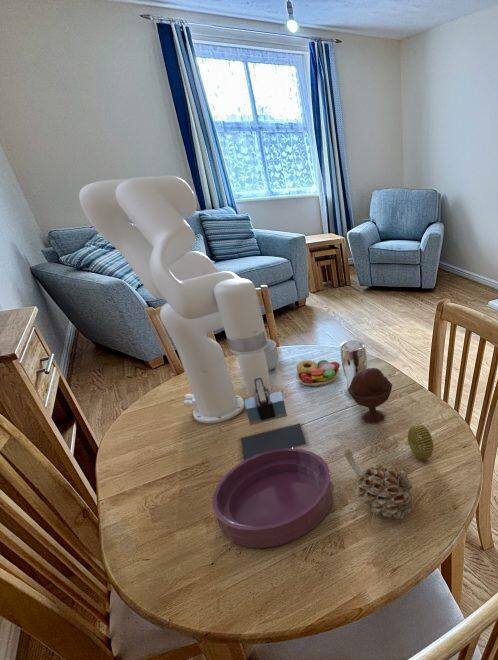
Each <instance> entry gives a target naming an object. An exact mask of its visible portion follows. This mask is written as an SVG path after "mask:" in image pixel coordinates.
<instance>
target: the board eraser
mask: <svg viewBox="0 0 498 660" xmlns="http://www.w3.org/2000/svg"><path fill="white" fill-rule="evenodd" d="M265 397H267V395H265ZM269 397H270V401H272V404H273V408H274V412H275V417H274V418H270V419H266V420H261V419H260V416H259V412H258V408H257V405H258V404H257V400H256V397H255V396H253V397H249V398H245V399H243V400H244V403H245V406H244V408H245V411H246V415H247V418H248V422H249V425H250V426H254V425H257V424H262V423H266V422H270V421H274V420H277V419H281V418H282V419H283V418H286V417H288V413H287V409H286V404H285V401H284V397H283V394H282V391H277V392H272V393H270V394H269ZM258 398H259V396H258Z"/></svg>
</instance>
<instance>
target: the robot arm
mask: <svg viewBox="0 0 498 660" xmlns="http://www.w3.org/2000/svg"><path fill="white" fill-rule="evenodd" d="M78 199H79V204H80V206H81V208H82V211H83V213H84V214H85V216H86V218H87V219H88V221H89V223H90V224H91V225H92V227H93V228H94V230H96V232H97V233H98V234H100V236H102V238H103V239H104V240H105V241H107V243H109V244H110V245H111V246H112V247H113V248H115V250H117V251H118V252H119V253H120V254H121V256H122V257H123V258H124V259H125V261H126V262H127V264H128V266H129V267H130V268H131V270H132V271H133V272H134V274H135V275H136V276H137V278H138V279H139V280H140V282H141V284H142V285H143V286H144V287H145V289H146V290H147V291H148V293H149V294H150V295H151V296H153V297H154V298H156V299H158V300H165V301H166V302H165V303H164V304H163V305H162V306H161V308H160V311H159V317H160V320H161V322H162V325H163V326H164V329H165V330H166V332H167V333H168V335H169V337H170V338H171V340H172V342H173V344H174V347H175V349H176V351H177V354H178V356H179V359H180V362H181V365H182V367H183V370H184V373H185V376H186V378H187V381H188V384H189V387H190V389H191V393H186V394H185V395H184V400H183V405H184V406H192V407H193V411H192V415H193V418H194V420H196V422H199V423H203V424H215V423H216V424H217V423H222V422H225V421H228V420H230V419H233V418H234V417H236V416H238V415H239V414H240V413H241V412H242V411H243V410H244V409H245V401H244V400H245V399H244V398H242V397H241V396H240V395H237V394H236V391H235V388H234V383H233V381H232V378H231V374H230V371H229V368H228V364H227V361H226V357H225V354H224V350H223V348H222V346H221V345H220V343H219V342H217V341H215V339H212V338H210V337H209V336H208V334H210V333H213V332H214V331H217V330H219V329H222V328H223V329H224V332H225V336H226V340H227V343H228V347H229V350H230V352H231V353H232V354H234V353H235V354H237V357H236V358H237V361H238V366H239V369H240V372H241V377H242V379H243V384H244V386H245V390H246V394H247V397H249V398H252V397H256V400H257V404H258V405H257V408H258V412H259V416H260V419H261V420H266V419H270V418H274V417H275V412H274V408H273V404H272V401H270V397H269V394H271V392H272V387H271V379H270V373H269V372H270V371H268V366H267V362H266V357H265V353H264V349H265V348H266V347H267V346H268V339H269V338H268V335H267V332H266V327H265V321H264V318H263V314H262V309H261V305H260V301H259V297H258V293H257V289H256V285H255V284H254V282H253V281H251V280H249V279H248V278H247V279H246V278H241V277H240V276H238V275H237V274H236V273H235V272H232V271H229V270H221V271H220V270H219V269H218V268H217V266H216V265H215V263H214V262H213V261H212V260H211V259H210V257H208V256H207V255H206V254H204V253H203V252H200V251H196V250H193V251H192V250H191V249H192V248H193V247H194V245H195V241H196V233H195V231H194V230H193V228H192V227H191V226H190V224H189V223H188V222H187V221H186V220H185V218H184V217H190V216H192V215H194V214H195V213H196V212H197V208H198V203H197V198H196V195H195V193H194V191H193V189H192V188H191V187H190V185H189V184H188V183H187V182H186V181H185V180H184V179H183V178H180V177H179V176H176V175H158V176H157V175H155V176H154V175H153V176H141V177H140V176H139V177H131V178H122V179H121V178H119V179H107V180H99V181H94V182H91V183H88V184H86V185H84V186H82V187H81V189H80V190H79V193H78ZM190 250H191V251H190ZM265 395H267V397H265ZM258 396H259V398H258Z"/></svg>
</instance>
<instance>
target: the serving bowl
mask: <svg viewBox="0 0 498 660" xmlns="http://www.w3.org/2000/svg"><path fill="white" fill-rule="evenodd" d="M211 499H212V500H211V501H212V511H213V513H214V515H215V518H216V521H217V523H218V525H219V527H220V530H221V532H222V534H223V535H224V537H226V538H227V539H228V540H230V541H231V542H232V543H233V544H237V545H240V546H242V547H245V548H256V549H265V548H270V547H276V546H280V545H284V544H286V543H289V542H292V541H295V540H296V539H298V538H300V537H301V536H304V535H305V534H307V533H309V532H310V531H312V529H314V528H315V527H316V526H317V525H318V524H319V523H321V521H322V520H323V519H324V517H325V516H326V514H327V513H328V512H329V510H330V508H331V505H332V502H333V500H334V485H333V480H332V474H331V471H330V468H329V464H328V463H327V462H326V461H325V460H324V459H323V457H322V456H320V455H319V454H316V453H315V452H313V451H310V450H306V449H302V448H294V447H293V448H284V449H276V450H271V451H267V452H263V453H260V454H257V455H255V456H253V457H250V458H248V459H246V460H245V461H244V460H243V461H241V462H240V463H238V464H237V465H235V466H233V467H232V468H231V469H230V470H229V471H228V472H226V473H225V474H224V475H223V477H222V478H221V479H220V481H219V482H218V483H217V485H216V486H215V489H214V491H213V495H212V496H211Z"/></svg>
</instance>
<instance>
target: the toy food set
mask: <svg viewBox="0 0 498 660" xmlns="http://www.w3.org/2000/svg"><path fill="white" fill-rule="evenodd" d="M340 367H341V365H340V363H339V362H337V361H331V362H329V360H326V359H321V360H319V361H318V362H316V361H313V360H310V359H305V360H301V361H299V362H298V363H297V364H296V365H295V370H296V372H297V373H296V376H295V379H296V380H297V381H298V382H299V383H301V384H302V385H305V386H308V387H319V386H325V385H328V384H330V383H332V382H333V381H334V380H336V379H337V378H338V377H339V374H340Z"/></svg>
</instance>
